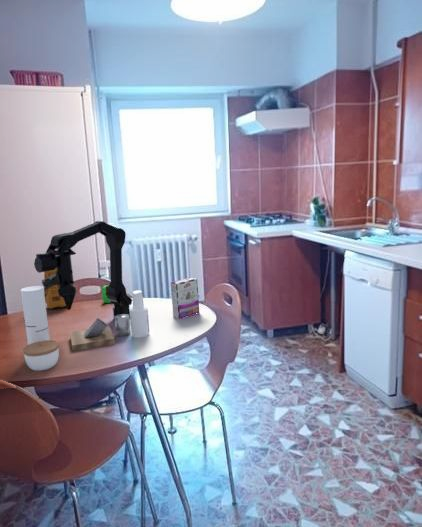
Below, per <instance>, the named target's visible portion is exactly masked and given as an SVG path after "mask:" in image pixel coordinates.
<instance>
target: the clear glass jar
mask: <svg viewBox="0 0 422 527" xmlns="http://www.w3.org/2000/svg"><path fill="white" fill-rule="evenodd" d="M114 325H115V335H116V336H117V337H119V338H121V337H127V336H130V335H132V332H131V320H130V318H129V315H128V314H119V315H116V316H115V318H114Z"/></svg>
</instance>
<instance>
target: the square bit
mask: <svg viewBox="0 0 422 527" xmlns="http://www.w3.org/2000/svg"><path fill="white" fill-rule="evenodd" d="M107 326H108V325H107V323H105V322H104V321H103V320H102V319H100V318H98V317H97V318H96V320H95V321H94V322H93V323H92V324H91V326H90V327H89V328H87V329H88V330H87V329H86V330H87V331H86V333H85V334H84V337H85V338H92V337H99V336H100V334H101V333H102V332H103V331H104V329H105V328H106V327H107Z"/></svg>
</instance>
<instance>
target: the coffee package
mask: <svg viewBox="0 0 422 527" xmlns="http://www.w3.org/2000/svg"><path fill="white" fill-rule="evenodd" d="M43 273H44V275H43V276H44V279H46V278H48V277H50V276H52V275H55V274H56V268H55V269H54V270H50V271H45V272H43ZM59 286H60V285H59ZM43 288H44V296H45V304H46V308H48V309H55V308H65V307H66V304H65V301H64V298H63V297H61V296H59V294H58V286H57V284H56V285H54V286H52V287H50V288H49V289H45V287H44V286H43Z"/></svg>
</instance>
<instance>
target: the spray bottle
mask: <svg viewBox="0 0 422 527" xmlns="http://www.w3.org/2000/svg"><path fill="white" fill-rule="evenodd" d="M129 310H130V330H131V336H132V338H136V339H137V338H138V337H140V338H145V337H148V336H149V335H150V334H149V333H150V323H149V322H150V321H149V310H148V307H147V306H146V305H145V304H144V296H143V291H142V290H133V291H132V307H131V308H129ZM147 335H148V336H147ZM144 336H145V337H144ZM138 339H139V338H138Z"/></svg>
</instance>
